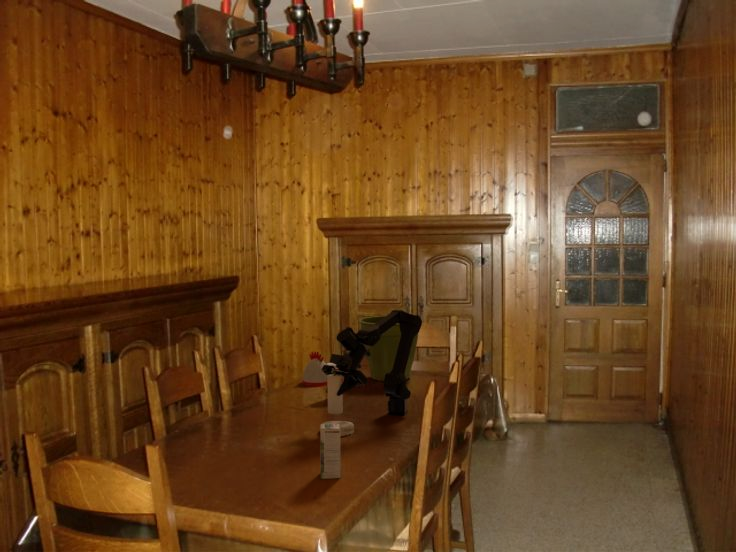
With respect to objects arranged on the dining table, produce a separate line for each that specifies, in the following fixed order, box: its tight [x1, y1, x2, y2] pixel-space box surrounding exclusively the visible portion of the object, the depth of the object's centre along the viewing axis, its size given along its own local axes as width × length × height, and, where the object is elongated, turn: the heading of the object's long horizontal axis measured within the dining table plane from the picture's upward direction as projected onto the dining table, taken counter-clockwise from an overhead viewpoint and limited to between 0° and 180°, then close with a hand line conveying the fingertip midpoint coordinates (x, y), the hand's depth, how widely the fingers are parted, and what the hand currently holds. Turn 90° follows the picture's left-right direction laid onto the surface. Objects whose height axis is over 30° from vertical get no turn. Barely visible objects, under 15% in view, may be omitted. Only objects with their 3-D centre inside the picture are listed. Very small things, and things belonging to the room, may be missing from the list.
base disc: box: [319, 420, 355, 437], centre depth 240 cm, size 12×12×2 cm
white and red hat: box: [301, 351, 327, 387], centre depth 321 cm, size 14×14×15 cm
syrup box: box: [319, 423, 342, 480], centre depth 196 cm, size 6×6×14 cm
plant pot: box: [358, 315, 419, 382], centre depth 329 cm, size 30×30×29 cm
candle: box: [326, 373, 344, 415], centre depth 240 cm, size 5×5×14 cm
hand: (332, 394), depth 239 cm, fingers closed on candle, 5 cm apart
